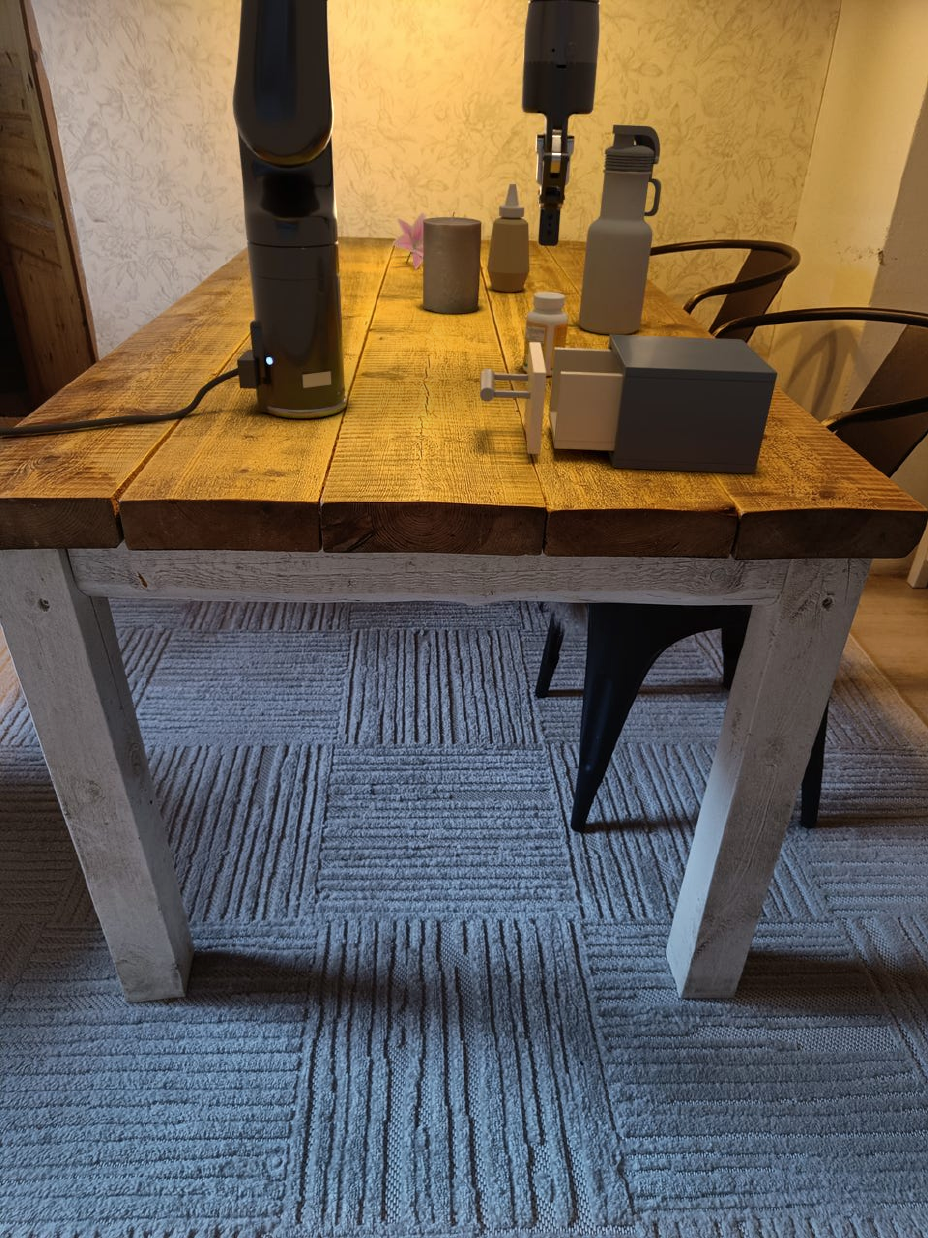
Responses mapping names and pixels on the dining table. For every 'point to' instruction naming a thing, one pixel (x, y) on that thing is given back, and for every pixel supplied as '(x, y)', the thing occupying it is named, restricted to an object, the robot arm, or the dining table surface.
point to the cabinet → (690, 404)
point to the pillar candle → (451, 264)
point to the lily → (412, 239)
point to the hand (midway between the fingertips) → (547, 244)
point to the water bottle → (621, 235)
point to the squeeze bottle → (509, 246)
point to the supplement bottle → (546, 327)
